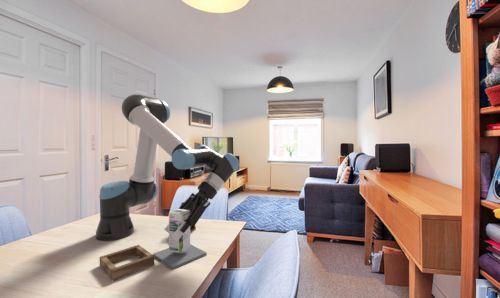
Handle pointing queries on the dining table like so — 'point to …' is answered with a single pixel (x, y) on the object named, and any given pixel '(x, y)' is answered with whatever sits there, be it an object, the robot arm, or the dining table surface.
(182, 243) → the syrup box
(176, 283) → the dining table surface
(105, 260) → the walnut holder
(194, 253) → the rubber mat
